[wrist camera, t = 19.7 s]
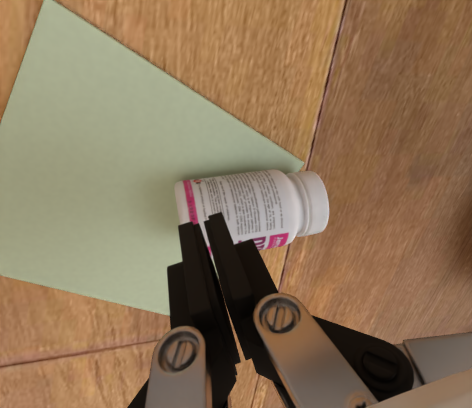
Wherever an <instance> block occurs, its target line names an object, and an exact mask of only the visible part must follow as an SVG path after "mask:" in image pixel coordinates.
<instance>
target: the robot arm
mask: <svg viewBox="0 0 472 408" xmlns="http://www.w3.org/2000/svg"><path fill="white" fill-rule="evenodd" d="M208 218H209V220H206V221H203V222H204V226H205V229H206V233H207V237H208V241H209V244H210V248H211V252H212V255H213V259H214V263H215V267H216V270H217V273H216V270H215V267H214V264H213V261H212V258H211V256H210V253H209V250H208V247H207V244H206V241H205V238H204V236H203V233H202V230H201V227H200V224H199V223H197V224H193V221H190V222H187V223H184V224H181V225H178V232H179V239H180V246H181V254H182V262H179V263H176V264H173V265H170V266H168V267H167V279H168V294H169V309H170V324H171V330H170V331H169V332H167V333H166V334H165V335H164V336H163V337H162V338H161V339H160V340H159V342H158V343H157V345H156V347H155V349H154V352H153V355H152V362H151V369H150V376H149V379H148V380H147V381H146V383H145V384H144V385H143V387H142V388H141V390H140V391H139V392H138V394H137V395H136V396H135V398H134V399H133V401H132V402H131V403H130V405H129V406H128V407H127V408H232V405H231V397H230V392H231V390H232V388H233V386H234V384H235V382H236V381H237V380H236V375H237V371H236V367H235V364H237V363H240V362H241V361H240V357H239V353H238V350H237V346H236V342H235V338H234V335H233V331H232V327H231V324H230V320H229V316H228V312H229V315H230V317H231V320H232V323H233V326H234V329H235V331H236V334H237V337H238V340H239V343H240V345H241V348H242V351H243V354H244V357H245V359H246V360H248V359H251V358H252V361H253V364H254V367H255V370H256V373H258V374H260V375H262V376H264V377H266V378H268V379H270V380H271V382H272V385H273V387H274V389H275V391H276V393H277V395H278V397H279V399H280V401H281V403H282V405H283V407H284V408H472V332H468V333H459V334H451V335H442V336H433V337H424V338H416V339H407V340H403V343H402V344H394V345H392V344H390V343H388V342H386V341H384V340H381V339H378V338H375V337H372V336H370V335H367V334H364V333H361V332H358V331H355V330H352V329H350V328H347V327H344V326H341V325H338V324H335V323H332V322H329V321H327V320H324V319H321V318H318V317H315V316H312V315H311V314H310V313H309V312H308V310H307V309H306V308H305V306H304V305H303V304H302V303H301V302H300V301H299V300H298V299H297V298H296V297H294V296H292V295H290V294H285V293H278V291H277V288H276V286H275V284H274V282H273V280H272V278H271V276H270V274H269V272H268V270H267V268H266V266H265V263H264V261H263V259H262V257H261V255H260V253H259V251H258V249H257V247H256V245H255V243H254V241H253V239H249V240H246V241H243V242H240V243H237V244H234V242H233V240H232V237H231V235H230V232H229V229H228V227H227V224H226V222H225V219H224V216H223V214H222V212H219V213H216V214H213V215H209V216H208ZM217 274H218V276H217ZM218 278H219V279H218ZM219 281H220V283H219ZM220 285H221V286H220ZM221 289H222V290H221ZM222 292H223V294H222ZM223 296H224V297H223ZM224 299H225V301H224ZM225 303H226V305H225ZM226 306H227V309H228V312H227V309H226Z"/></svg>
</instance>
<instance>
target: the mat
mask: <svg viewBox="0 0 472 408" xmlns="http://www.w3.org/2000/svg"><path fill="white" fill-rule="evenodd" d="M303 165H304V162H303V161H302V160H300V159H299V158H297V157H296V156H294V155H293V154H291V153H289V152H288V151H286V150H285V149H283V148H282V147H280V146H279V145H277V144H276V143H274V142H272V141H271V140H269V139H268V138H266V137H265V136H263V135H262V134H260V133H259V132H257V131H255V130H254V129H252V128H251V127H249V126H248V125H246V124H245V123H243V122H242V121H240V120H239V119H237V118H235V117H234V116H232V115H231V114H229V113H228V112H226V111H225V110H223V109H222V108H220V107H218V106H217V105H215V104H214V103H212V102H211V101H209V100H208V99H206V98H205V97H203V96H202V95H200V94H198V93H197V92H195V91H194V90H192V89H191V88H189V87H188V86H186V85H185V84H183V83H181V82H180V81H178V80H177V79H175V78H174V77H172V76H171V75H169V74H168V73H166V72H164V71H163V70H161V69H160V68H158V67H157V66H155V65H154V64H152V63H151V62H149V61H148V60H146V59H144V58H143V57H141V56H140V55H138V54H137V53H135V52H134V51H132V50H131V49H129V48H127V47H126V46H124V45H123V44H121V43H120V42H118V41H117V40H115V39H114V38H112V37H110V36H109V35H107V34H106V33H104V32H103V31H101V30H100V29H98V28H97V27H95V26H94V25H92V24H90V23H89V22H87V21H86V20H84V19H83V18H81V17H80V16H78V15H77V14H75V13H73V12H72V11H70V10H69V9H67V8H66V7H64V6H63V5H61V4H60V3H58V2H56V1H55V0H44V1H43V4H42V7H41V10H40V12H39V15H38V18H37V21H36V24H35V27H34V29H33V32H32V35H31V38H30V41H29V44H28V46H27V49H26V52H25V55H24V58H23V60H22V63H21V66H20V69H19V72H18V75H17V77H16V80H15V83H14V86H13V89H12V92H11V94H10V97H9V100H8V103H7V106H6V109H5V111H4V114H3V117H2V120H1V123H0V275H1V276H5V277H9V278H13V279H17V280H22V281H26V282H30V283H34V284H38V285H42V286H47V287H51V288H55V289H59V290H63V291H68V292H72V293H76V294H80V295H84V296H89V297H93V298H97V299H101V300H105V301H110V302H114V303H118V304H122V305H126V306H130V307H135V308H139V309H143V310H147V311H151V312H156V313H160V314H164V315H168V316H170V309H169V294H168V279H167V267H168V266H170V265H173V264H176V263H179V262H182V254H181V246H180V239H179V232H178V225H180V221H179V216H178V210H177V204H176V197H175V190H174V186H175V184H176V182H179V181H183V180H192V179H202V178H210V177H218V176H226V175H233V174H240V173H248V172H255V171H262V170H270V169H276V170H279V171H281V172H283V173H284V174H285V175H286V174H288V173H293V172H299V170H300V169H301V168H302V166H303ZM212 261H213V264H214V267H215V263H214V259H212ZM215 270H216V267H215ZM216 273H217V270H216ZM217 276H218V274H217Z"/></svg>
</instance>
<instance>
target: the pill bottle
mask: <svg viewBox="0 0 472 408" xmlns="http://www.w3.org/2000/svg"><path fill="white" fill-rule="evenodd" d="M174 190H175V197H176V204H177V210H178V216H179V221H180V225H181V224H184V223H187V222H190V221H193V224H197V223H199V224H200V227H201V230H202V233H203V236H204V238H205V241H206V244H207V247H208V250H209V253H210V256H211V258H212V259H213V255H212V252H211V248H210V244H209V241H208V237H207V233H206V229H205V226H204V222H203V221H206V220H209V218H208V216H209V215H213V214H216V213H219V212H222V214H223V216H224V219H225V222H226V224H227V227H228V229H229V232H230V235H231V237H232V240H233V242H234V244H237V243H240V242H243V241H246V240H249V239H253V241H254V243H255V245H256V247H257V249H258V250H263V249H269V248H274V247H280V246H284V245H287V244H289V243H291V242H292V241H293V239H294V238H295V236H298V237H300V236H307V235H312V234H316V233H320V232H322V231H323V230H324V229H325V227H326V225H327V222H328V218H329V202H328V197H327V192H326V189H325V186H324V184H323V182H322V180H321V178H320V177H319V176H318V175H317V174H316V173H315V172H313V171H302V172H293V173H288V174H286V175H285V174H284V173H283V172H281V171H279V170H276V169H270V170H262V171H255V172H248V173H240V174H233V175H226V176H218V177H210V178H202V179H192V180H183V181H179V182H176V184H175V186H174Z"/></svg>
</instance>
